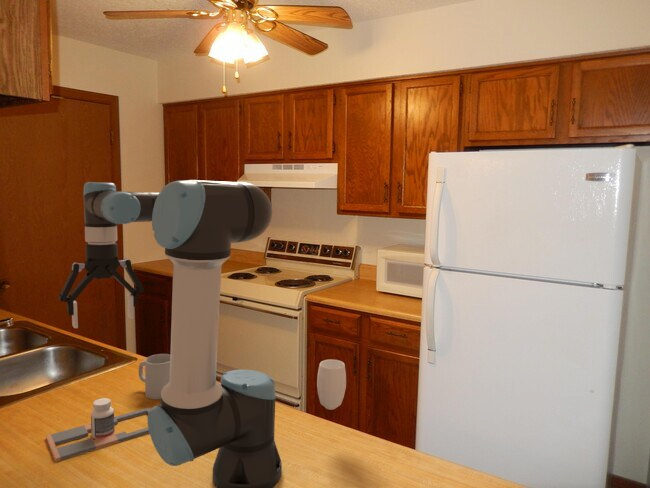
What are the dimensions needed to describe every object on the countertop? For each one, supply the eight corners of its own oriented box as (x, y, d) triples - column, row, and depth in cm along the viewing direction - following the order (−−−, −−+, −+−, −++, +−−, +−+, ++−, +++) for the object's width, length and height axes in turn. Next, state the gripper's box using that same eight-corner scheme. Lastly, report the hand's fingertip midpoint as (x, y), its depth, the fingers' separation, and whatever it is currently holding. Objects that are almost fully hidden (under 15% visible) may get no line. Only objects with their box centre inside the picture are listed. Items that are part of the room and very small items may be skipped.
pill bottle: (118, 433, 118) (118, 400, 117) (99, 442, 113) (98, 408, 112) (106, 427, 121) (105, 394, 120) (87, 436, 116) (86, 402, 115)
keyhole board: (164, 428, 121) (164, 425, 121) (55, 461, 105) (55, 458, 105) (148, 410, 130) (148, 407, 130) (46, 438, 114) (46, 435, 114)
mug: (180, 390, 143) (180, 356, 142) (162, 401, 135) (162, 366, 134) (149, 383, 147) (148, 350, 146) (129, 394, 139) (128, 359, 138)
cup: (349, 444, 116) (353, 365, 114) (328, 454, 112) (331, 372, 109) (330, 432, 122) (333, 356, 119) (309, 441, 117) (311, 362, 114)
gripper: (145, 238, 130) (147, 312, 133) (43, 243, 114) (46, 326, 117) (155, 241, 124) (156, 318, 127) (48, 247, 108) (52, 334, 111)
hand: (103, 322), depth 122 cm, fingers open, 13 cm apart
